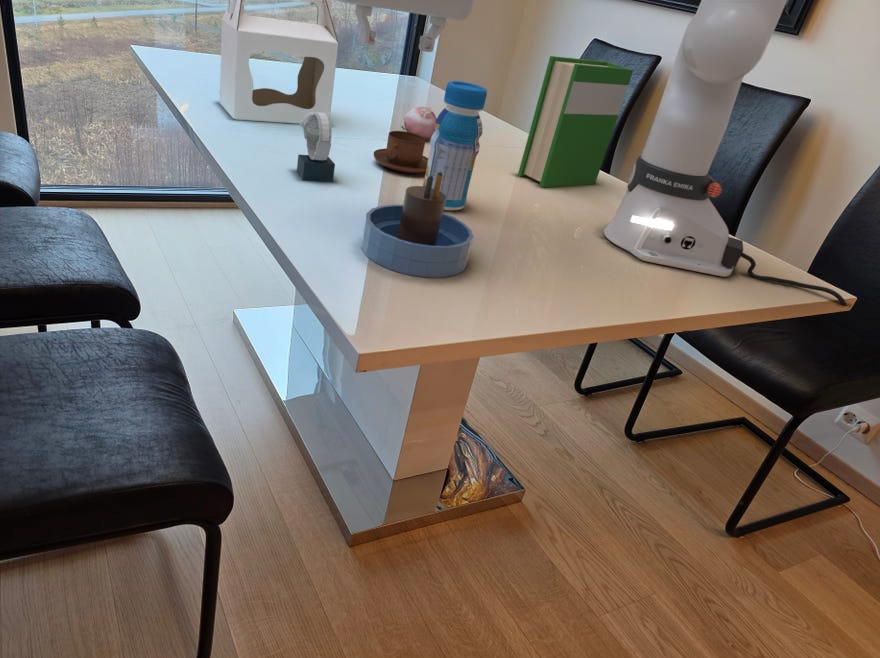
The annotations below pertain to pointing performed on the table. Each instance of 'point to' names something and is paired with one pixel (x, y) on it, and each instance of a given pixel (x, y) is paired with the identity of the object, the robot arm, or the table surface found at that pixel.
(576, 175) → the hardback book
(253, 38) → the gable box
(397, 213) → the bowl
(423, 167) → the cup and saucer
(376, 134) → the table surface
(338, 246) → the table surface
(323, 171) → the watch
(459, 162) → the beverage bottle
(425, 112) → the onion
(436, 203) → the pot
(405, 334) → the table surface
